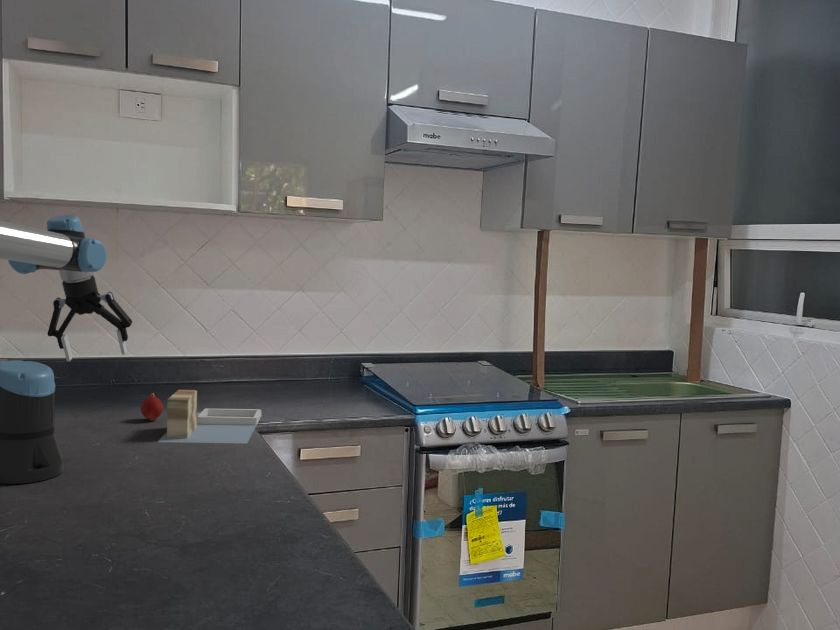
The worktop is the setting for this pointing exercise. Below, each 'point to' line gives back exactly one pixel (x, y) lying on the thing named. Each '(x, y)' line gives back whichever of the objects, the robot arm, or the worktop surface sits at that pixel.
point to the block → (181, 414)
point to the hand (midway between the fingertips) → (97, 356)
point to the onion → (151, 408)
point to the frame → (234, 416)
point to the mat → (215, 434)
